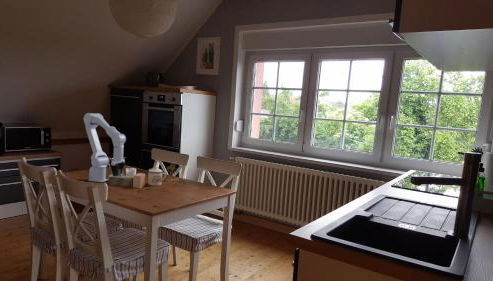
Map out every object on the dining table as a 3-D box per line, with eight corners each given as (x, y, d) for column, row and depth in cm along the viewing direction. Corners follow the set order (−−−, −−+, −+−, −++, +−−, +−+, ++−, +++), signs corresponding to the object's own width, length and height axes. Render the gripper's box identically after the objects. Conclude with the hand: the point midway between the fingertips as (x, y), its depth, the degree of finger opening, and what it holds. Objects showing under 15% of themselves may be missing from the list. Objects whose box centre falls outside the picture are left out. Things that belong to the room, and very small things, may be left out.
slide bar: (108, 180, 217) (108, 168, 217) (110, 179, 220) (111, 168, 220) (130, 182, 216) (130, 171, 216) (132, 181, 219) (132, 170, 219)
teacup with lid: (151, 186, 221) (152, 168, 220) (145, 183, 227) (146, 165, 226) (168, 184, 229) (169, 167, 228) (161, 181, 235) (162, 164, 234)
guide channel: (108, 184, 216) (109, 177, 216) (112, 182, 222) (113, 175, 221) (132, 186, 215) (132, 179, 215) (135, 184, 221) (136, 178, 220)
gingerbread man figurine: (176, 179, 246) (177, 163, 245) (178, 180, 243) (180, 164, 242) (164, 180, 240) (165, 163, 239) (167, 181, 237) (168, 164, 236)
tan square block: (132, 187, 214) (133, 175, 213) (137, 184, 222) (138, 173, 221) (140, 188, 213) (140, 176, 213) (144, 185, 221) (145, 173, 221)
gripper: (119, 155, 209) (118, 177, 211) (129, 152, 224) (128, 173, 225) (108, 154, 210) (107, 176, 211) (118, 151, 224) (117, 172, 225)
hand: (117, 174), depth 218 cm, fingers open, 7 cm apart
